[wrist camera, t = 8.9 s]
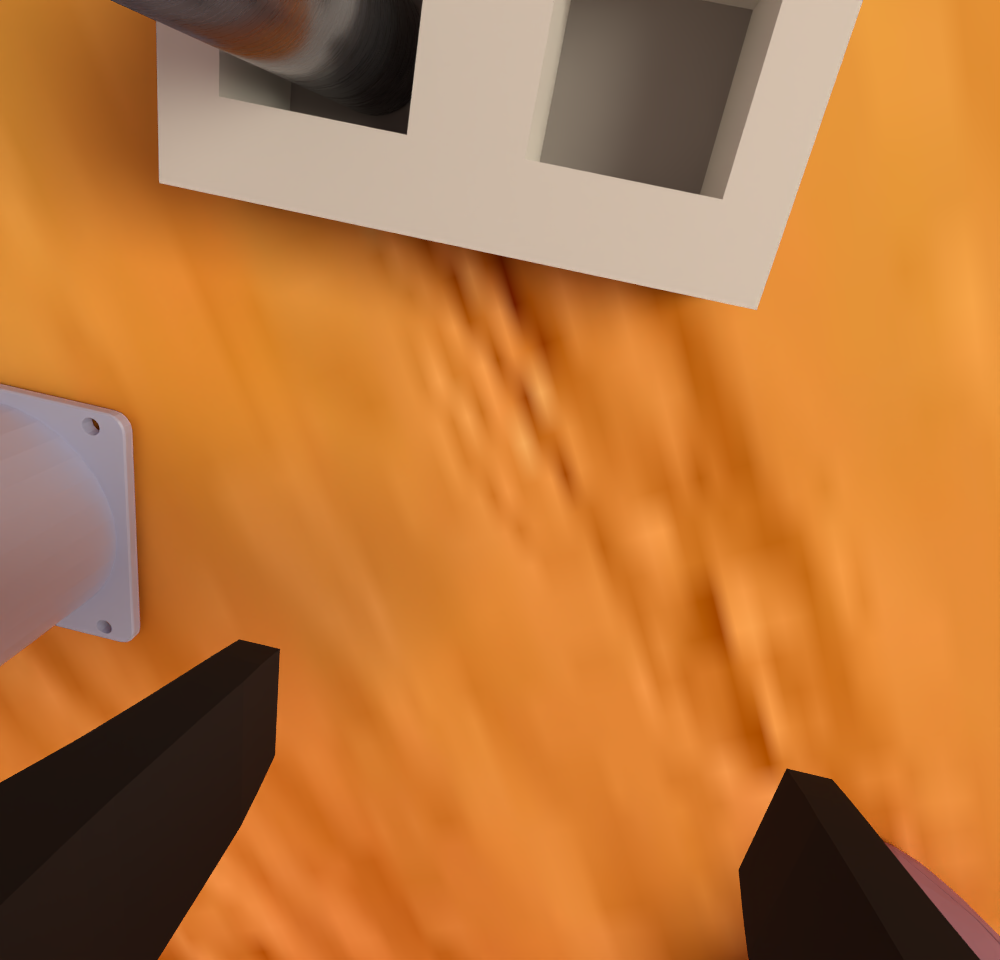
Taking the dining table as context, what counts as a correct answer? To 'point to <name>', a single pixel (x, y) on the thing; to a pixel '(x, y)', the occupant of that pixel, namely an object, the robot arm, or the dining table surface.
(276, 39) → the pin
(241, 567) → the dining table surface
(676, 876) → the dining table surface
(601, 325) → the dining table surface
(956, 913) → the video game controller
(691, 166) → the bore block
